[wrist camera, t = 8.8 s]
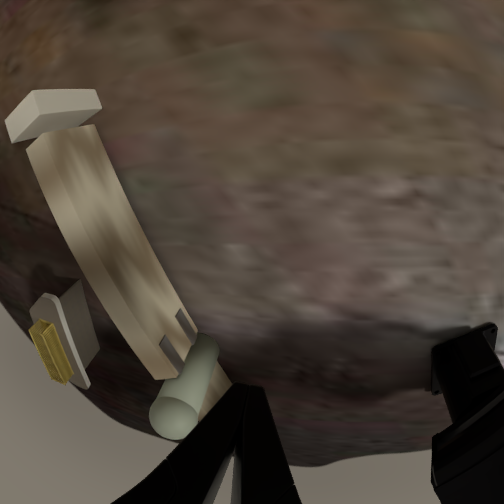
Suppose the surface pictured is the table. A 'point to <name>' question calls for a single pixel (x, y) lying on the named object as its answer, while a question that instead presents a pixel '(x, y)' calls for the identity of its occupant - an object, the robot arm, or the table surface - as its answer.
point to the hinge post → (185, 391)
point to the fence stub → (214, 390)
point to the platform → (65, 335)
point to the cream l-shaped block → (51, 112)
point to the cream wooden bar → (112, 247)
